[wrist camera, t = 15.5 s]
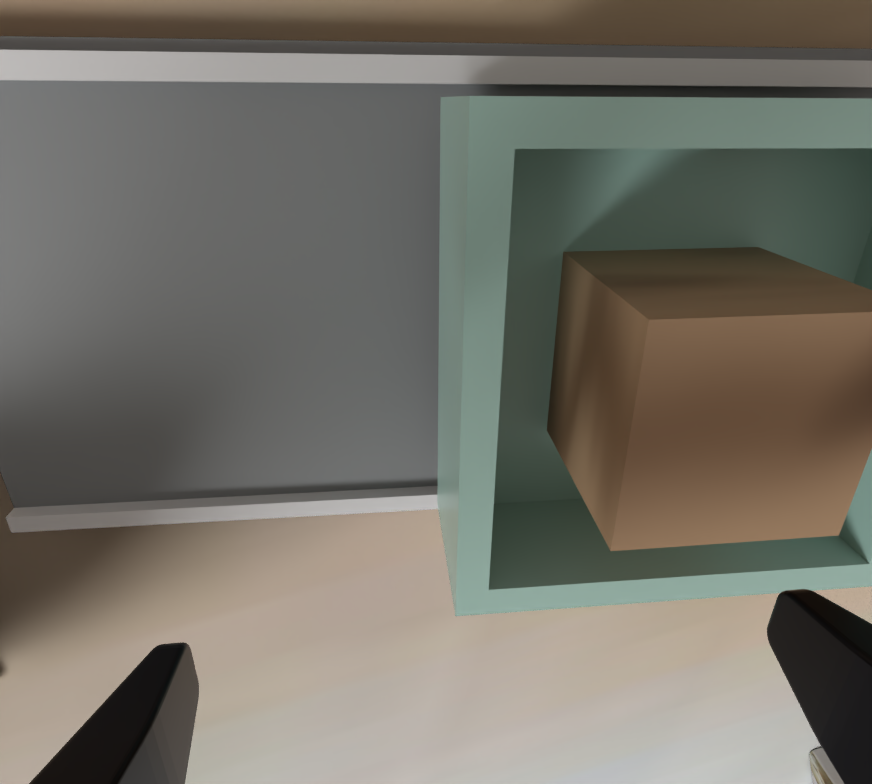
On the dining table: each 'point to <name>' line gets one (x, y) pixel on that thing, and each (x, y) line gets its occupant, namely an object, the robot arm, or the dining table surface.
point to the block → (710, 394)
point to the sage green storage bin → (538, 307)
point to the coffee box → (823, 768)
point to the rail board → (259, 259)
